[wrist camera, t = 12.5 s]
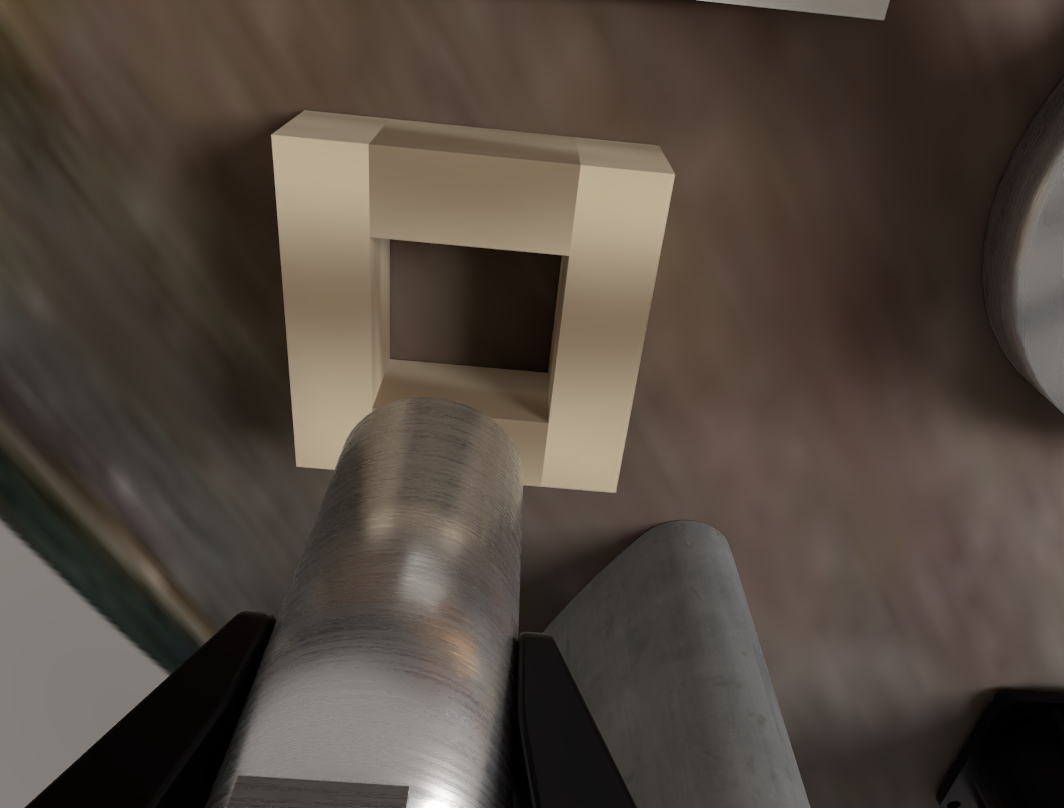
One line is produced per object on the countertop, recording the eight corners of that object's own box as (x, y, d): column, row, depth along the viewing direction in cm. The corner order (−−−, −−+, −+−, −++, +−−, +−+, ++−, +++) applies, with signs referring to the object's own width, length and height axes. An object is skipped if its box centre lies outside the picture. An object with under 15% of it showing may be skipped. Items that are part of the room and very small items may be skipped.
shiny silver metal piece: (511, 593, 14) (481, 1244, 7) (344, 580, 14) (148, 1230, 7) (538, 348, 12) (535, 988, 5) (334, 331, 11) (7, 960, 4)
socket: (608, 437, 22) (615, 492, 20) (321, 413, 21) (296, 466, 19) (659, 145, 18) (675, 174, 16) (304, 110, 17) (271, 134, 15)
